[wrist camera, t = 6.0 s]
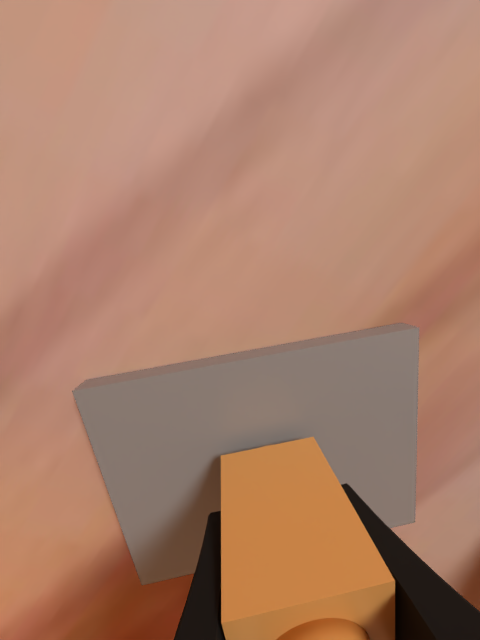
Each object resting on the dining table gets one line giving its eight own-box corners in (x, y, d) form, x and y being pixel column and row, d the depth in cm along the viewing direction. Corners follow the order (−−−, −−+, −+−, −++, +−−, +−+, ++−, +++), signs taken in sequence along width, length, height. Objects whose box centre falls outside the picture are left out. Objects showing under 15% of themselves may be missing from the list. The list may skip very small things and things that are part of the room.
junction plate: (402, 322, 11) (496, 348, 8) (401, 505, 14) (471, 593, 10) (85, 380, 11) (7, 442, 7) (147, 562, 13) (117, 683, 9)
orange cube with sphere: (313, 436, 10) (423, 631, 5) (320, 509, 11) (418, 741, 6) (220, 455, 10) (221, 683, 5) (236, 527, 11) (252, 789, 6)
